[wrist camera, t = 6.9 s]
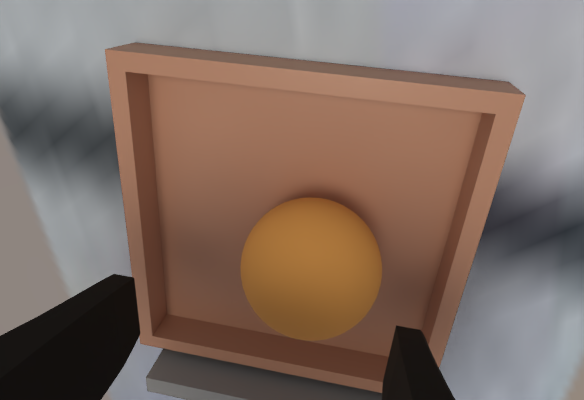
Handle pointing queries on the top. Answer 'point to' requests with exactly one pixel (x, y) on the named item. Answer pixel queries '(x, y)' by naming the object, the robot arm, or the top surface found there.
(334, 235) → the ball
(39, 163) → the top surface
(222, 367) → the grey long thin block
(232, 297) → the tray
